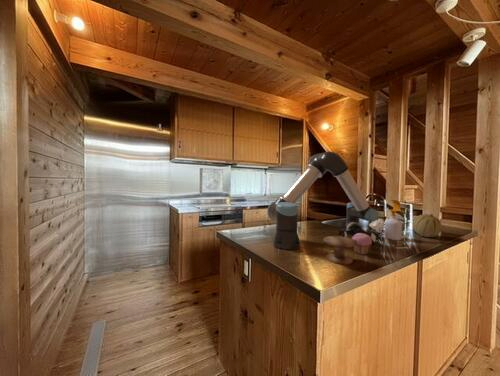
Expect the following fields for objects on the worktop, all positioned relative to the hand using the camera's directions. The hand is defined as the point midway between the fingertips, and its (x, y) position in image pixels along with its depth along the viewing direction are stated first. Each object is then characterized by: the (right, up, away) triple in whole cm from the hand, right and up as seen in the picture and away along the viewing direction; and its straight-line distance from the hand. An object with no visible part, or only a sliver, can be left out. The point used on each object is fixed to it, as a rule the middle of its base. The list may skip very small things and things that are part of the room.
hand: (360, 237), depth 114 cm
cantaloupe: (+56, -6, +26) cm, 62 cm away
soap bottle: (+32, -6, +22) cm, 39 cm away
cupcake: (-3, -6, -7) cm, 10 cm away
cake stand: (-18, -6, -16) cm, 25 cm away
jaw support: (+36, -5, +41) cm, 55 cm away
